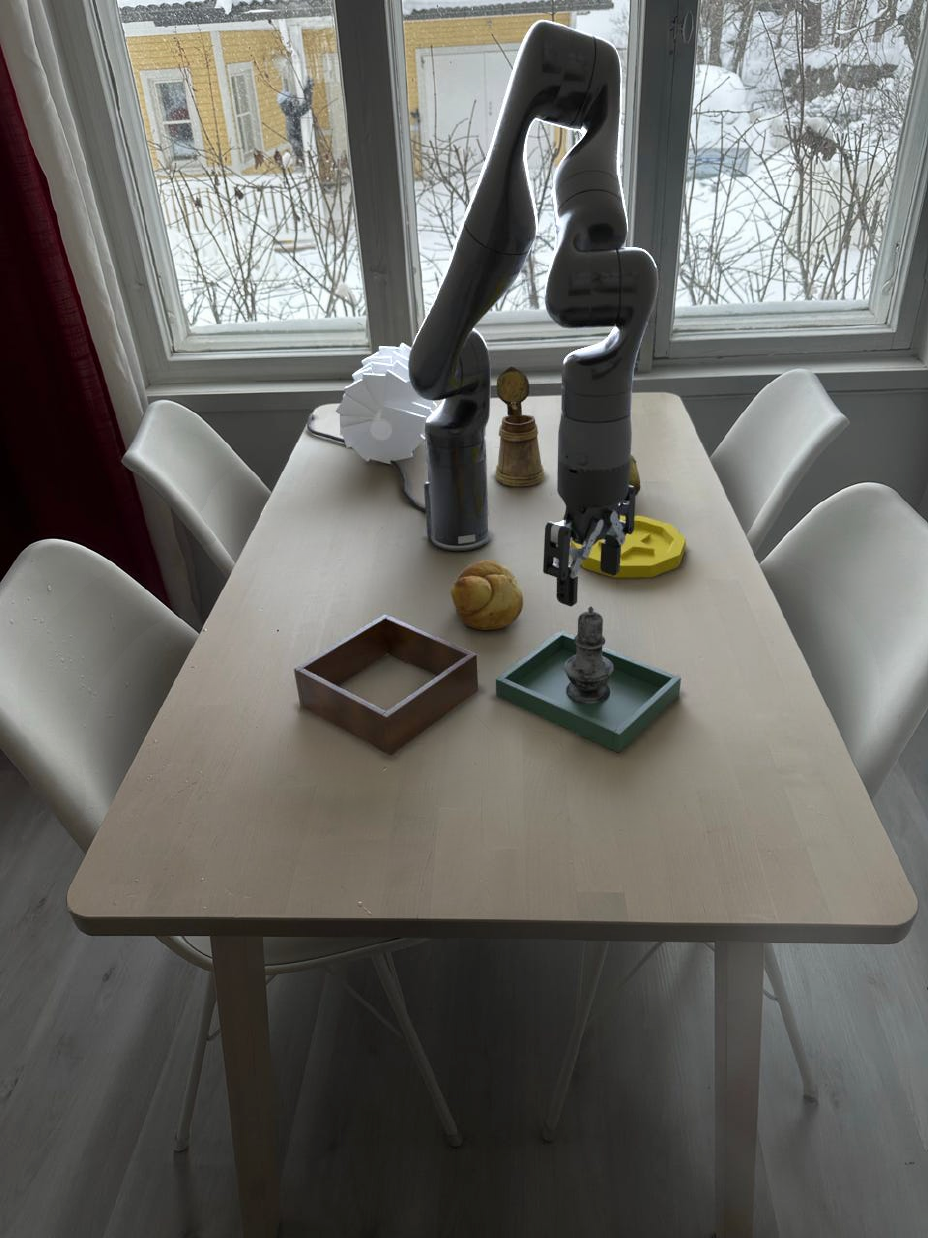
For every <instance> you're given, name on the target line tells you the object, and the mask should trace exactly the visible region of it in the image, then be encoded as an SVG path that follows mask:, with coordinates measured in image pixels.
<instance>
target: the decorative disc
mask: <svg viewBox="0 0 928 1238" xmlns="http://www.w3.org/2000/svg"><path fill="white" fill-rule="evenodd" d="M620 521H624V522H625V516H624V515H620ZM603 541H605V540H603V539H602V540H598V541H597V542H596V543H595V545H593V546H592V549H591V551H590V554H589V556H588V558H587V559H584V560H583V561H582V563H581V567H582V568H583V569H587V570H590V571H593V572H596V573H599V574H601V575H604V576H608V577H611V578H614V579H615V578H616V579H617V578H619V579H620V578H631V579H632V578H654V577H655V576H659V575H661V574H664V573H666V572H669V571H671V570H674V569H677V568H679V566H680V565H681V562H682V559H683V557H684V554H685V552H686V545H687V538H686V537H685V536H684V535H682V534H681V532H679V530H678V529H676V528H675V527H674V525H673V524H671V523H668V522H664V521H661V520H657V519H654V518H650V517H647V516H642V515H635V519H634V531H633V533H632V534H626V536H625V542H624V544H623V545H621V557H620V571H619V573H617V574H616V575H614V576H613V575H610V574H607V573H604V572H602V571H601V569H600V561H601V543H602V542H603ZM570 546H571V547H574V548H577V549H579V548H581V547H582V545H580V544H577V543H575V542H574V541H573V540H572V541H571V542H570Z"/></svg>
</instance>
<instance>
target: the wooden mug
mask: <svg viewBox="0 0 928 1238" xmlns="http://www.w3.org/2000/svg"><path fill="white" fill-rule="evenodd" d="M496 394H497V397H498V399H499V400H500V401H502V402H503V403H504V404H505V405H506V409H507V415H505V416H503V417H502V419H501V424H500V426H499V428H498V436H499V448H498V458H497V464H496V466H495V471H494V472H495V473H494V476H495V478H496V480H497V482H499V483H501V484H502V485H506V486H508V487H528V486H534V485H537V484H539V483H541V482H542V481H544V480H545V470H544V466H543V464H542V458H541V453H540V445H539V437H538V435H539V429H538V424H537V423H536V418H535V416H534V415H529V414H523V409H522V403H523V402H524V401H525V400H526V399H527V398H528V396H529V395H530V382H529V379H528V377H527V376H526V374H525V373H524V372H522V371H521V370H519V369H517V368H516V367H514V366H510V367H508V368H507V369H505V370H504V371H503V372H501V374H500V375H499V376H498V377H497V379H496Z"/></svg>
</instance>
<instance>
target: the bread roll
mask: <svg viewBox="0 0 928 1238" xmlns="http://www.w3.org/2000/svg"><path fill="white" fill-rule="evenodd" d="M450 596H451V600H452V603H453V605H454V607H455V611H456V614H457V617H458V618H459V620H461V622H462V623H463V624H464V625H465V626H468V627H470V628H473V629H475V630H478V631H479V630H480V631H482V630H483V631H491V630H499V629H503V628H505V627H508V626H510V625H511V624H513V623H514V621H516V619H518V618H519V616H520V615H521V613H522V610H523V608H524V607H523V606H524V597H523V594H522V590H521V589H520V587H519V585H518V582H517V580H516V577H515V575H514V574H513V573H512V571H511V570H510V569H509V568H508V567H507V566H504V565H502V563H499V562H498V561H496V560H491V559H490V560H481V561H477V562H473V563H470V564H468V565H467V566H465V568H464V569H463V570H461V572H460V573H459V575H458V576H457V578H456V580H455V582H454V583H453V584H452V586H451V588H450Z"/></svg>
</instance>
